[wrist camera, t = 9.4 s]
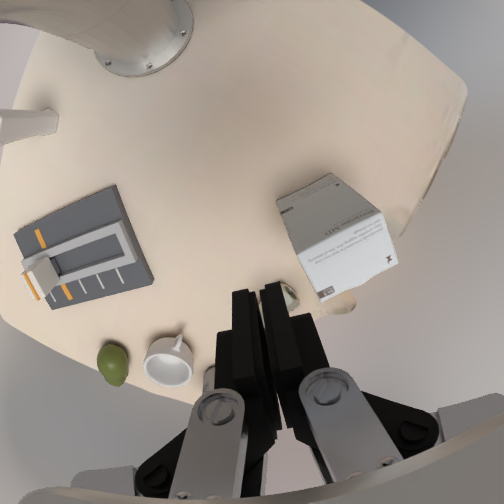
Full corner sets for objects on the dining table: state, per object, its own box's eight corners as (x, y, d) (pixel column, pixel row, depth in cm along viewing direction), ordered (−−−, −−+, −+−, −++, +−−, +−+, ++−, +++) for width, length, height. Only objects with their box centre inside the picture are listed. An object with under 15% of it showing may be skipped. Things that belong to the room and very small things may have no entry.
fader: (39, 257, 35) (17, 276, 30) (51, 252, 35) (30, 271, 30) (51, 280, 37) (31, 302, 32) (63, 276, 37) (44, 298, 31)
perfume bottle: (47, 146, 31) (-28, 167, 17) (32, 125, 29) (-43, 139, 15) (67, 121, 30) (-10, 131, 16) (51, 100, 28) (-26, 103, 14)
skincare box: (330, 171, 35) (386, 204, 21) (348, 212, 37) (404, 263, 24) (271, 202, 36) (294, 253, 23) (293, 241, 39) (322, 307, 25)
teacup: (186, 369, 48) (183, 393, 43) (145, 354, 46) (138, 377, 41) (207, 331, 44) (205, 355, 39) (160, 313, 42) (152, 336, 37)
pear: (123, 369, 40) (127, 396, 45) (131, 343, 44) (133, 373, 50) (90, 359, 39) (99, 388, 44) (100, 335, 43) (106, 366, 49)
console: (18, 230, 35) (9, 237, 33) (115, 185, 34) (107, 189, 31) (55, 304, 41) (48, 314, 38) (154, 279, 40) (149, 289, 37)
